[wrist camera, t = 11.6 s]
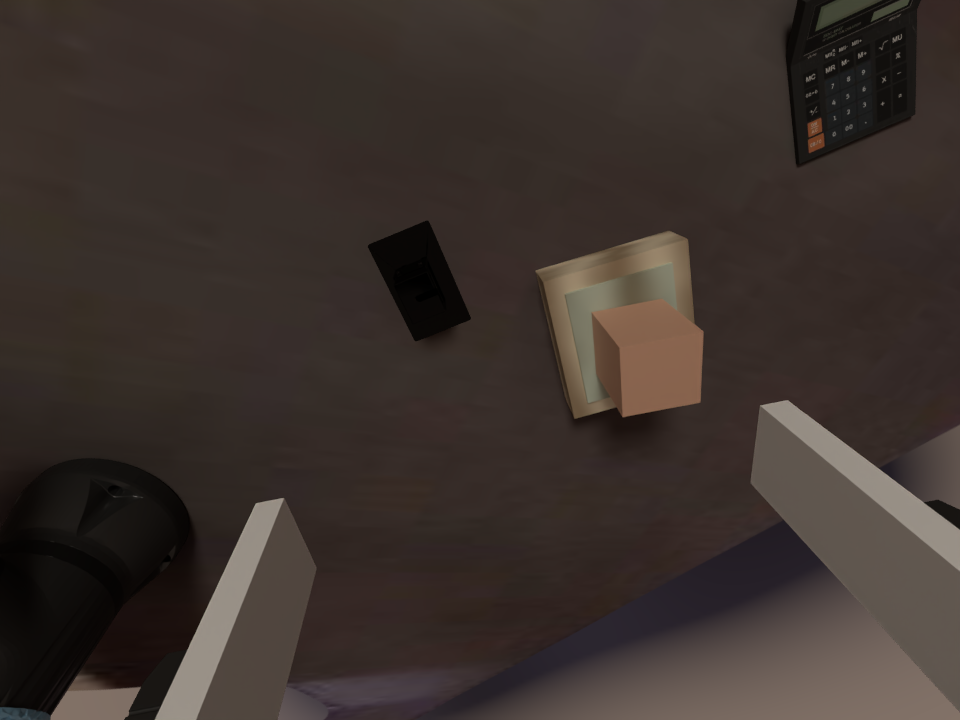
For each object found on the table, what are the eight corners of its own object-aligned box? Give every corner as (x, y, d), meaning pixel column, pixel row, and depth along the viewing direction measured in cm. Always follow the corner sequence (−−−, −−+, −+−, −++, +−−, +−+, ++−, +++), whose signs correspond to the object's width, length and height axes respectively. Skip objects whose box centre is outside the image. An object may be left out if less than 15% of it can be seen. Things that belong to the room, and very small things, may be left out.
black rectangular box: (483, 327, 44) (488, 347, 40) (412, 355, 45) (409, 378, 41) (429, 198, 39) (428, 206, 35) (349, 232, 39) (339, 243, 35)
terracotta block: (596, 373, 42) (622, 417, 36) (591, 312, 39) (619, 347, 33) (662, 361, 42) (700, 402, 36) (662, 298, 39) (703, 331, 33)
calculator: (792, 163, 40) (818, 165, 37) (777, 5, 34) (805, -5, 32) (905, 114, 39) (940, 113, 36) (907, -56, 33) (947, -72, 31)
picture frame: (564, 397, 48) (575, 420, 44) (534, 268, 42) (543, 283, 38) (679, 364, 48) (700, 385, 44) (666, 229, 41) (689, 239, 37)
